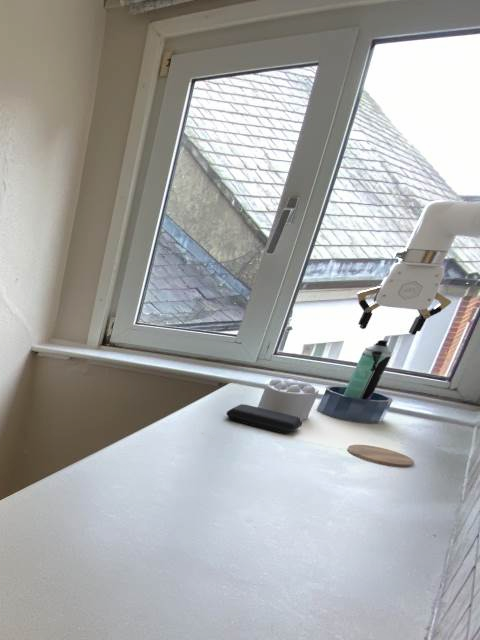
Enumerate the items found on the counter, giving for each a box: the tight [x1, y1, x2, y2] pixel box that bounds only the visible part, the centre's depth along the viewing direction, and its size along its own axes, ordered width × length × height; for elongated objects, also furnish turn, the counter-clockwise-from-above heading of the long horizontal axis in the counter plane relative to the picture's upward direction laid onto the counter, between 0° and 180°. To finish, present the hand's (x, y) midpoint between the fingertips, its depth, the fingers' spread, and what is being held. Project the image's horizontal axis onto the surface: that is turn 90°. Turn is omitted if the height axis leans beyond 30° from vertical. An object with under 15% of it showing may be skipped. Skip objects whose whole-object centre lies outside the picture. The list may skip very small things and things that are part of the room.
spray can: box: [343, 339, 393, 400], centre depth 144 cm, size 6×6×20 cm
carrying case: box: [226, 404, 303, 434], centre depth 138 cm, size 11×3×15 cm
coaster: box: [347, 444, 415, 468], centre depth 121 cm, size 11×11×1 cm
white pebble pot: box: [257, 378, 320, 421], centre depth 144 cm, size 10×13×9 cm
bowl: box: [316, 385, 394, 425], centre depth 147 cm, size 14×14×6 cm
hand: (386, 330), depth 138 cm, fingers open, 9 cm apart
